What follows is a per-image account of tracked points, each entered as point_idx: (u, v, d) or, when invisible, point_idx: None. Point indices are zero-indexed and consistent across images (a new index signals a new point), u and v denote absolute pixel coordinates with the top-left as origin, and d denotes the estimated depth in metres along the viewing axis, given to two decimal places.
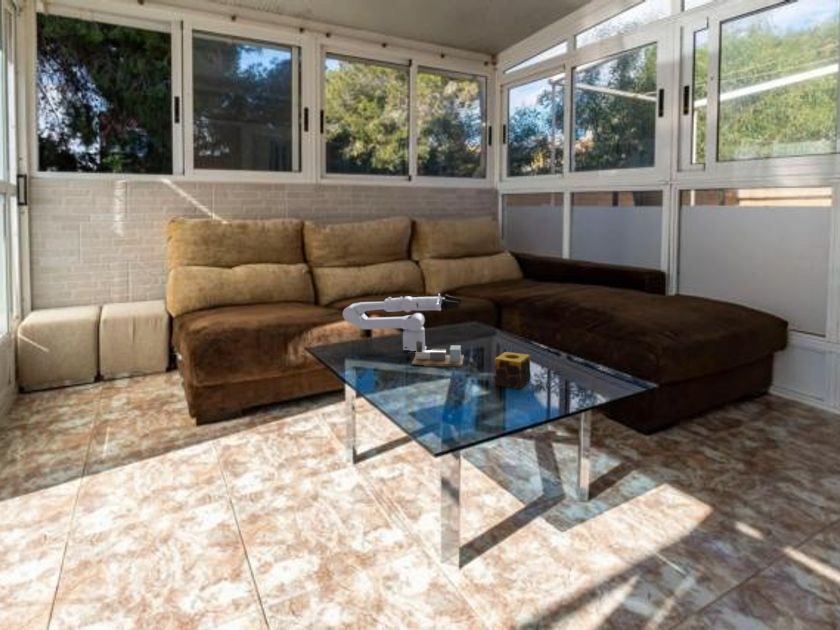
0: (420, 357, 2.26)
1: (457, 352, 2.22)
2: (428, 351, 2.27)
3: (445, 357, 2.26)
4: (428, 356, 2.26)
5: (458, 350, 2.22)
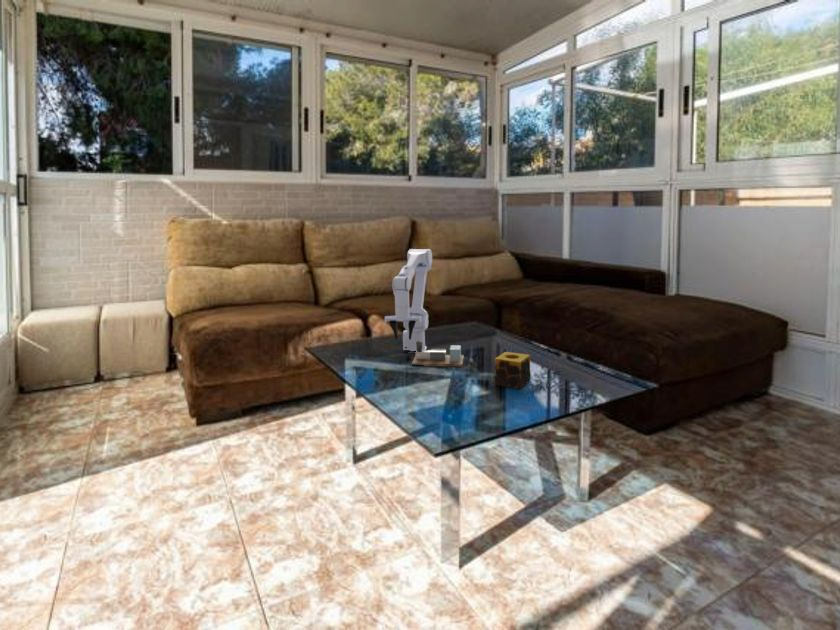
0: (420, 357, 2.26)
1: (457, 352, 2.22)
2: (428, 351, 2.27)
3: (445, 357, 2.26)
4: (428, 356, 2.26)
5: (458, 350, 2.22)
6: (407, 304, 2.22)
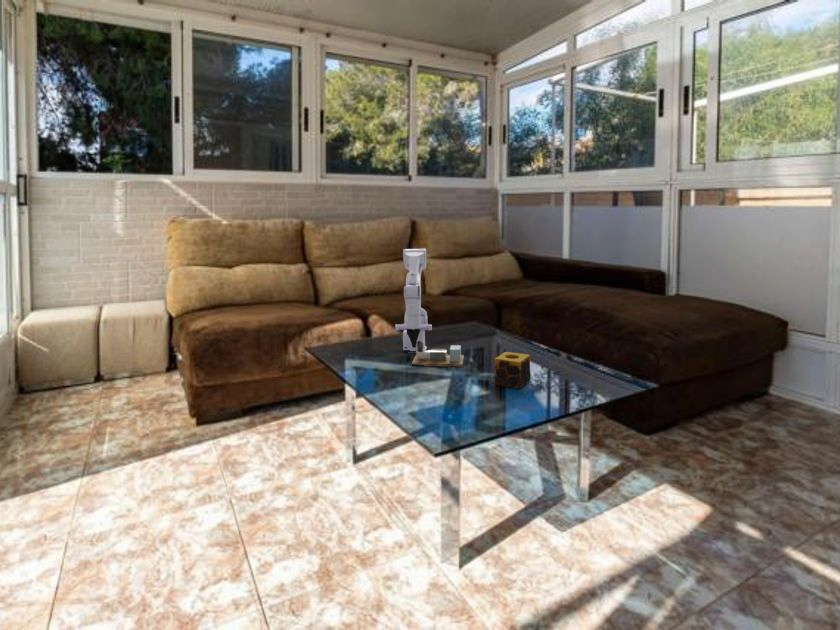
0: (421, 357, 2.26)
1: (457, 352, 2.22)
2: (429, 351, 2.27)
3: (446, 357, 2.26)
4: (429, 356, 2.26)
5: (458, 350, 2.22)
6: (419, 312, 2.23)
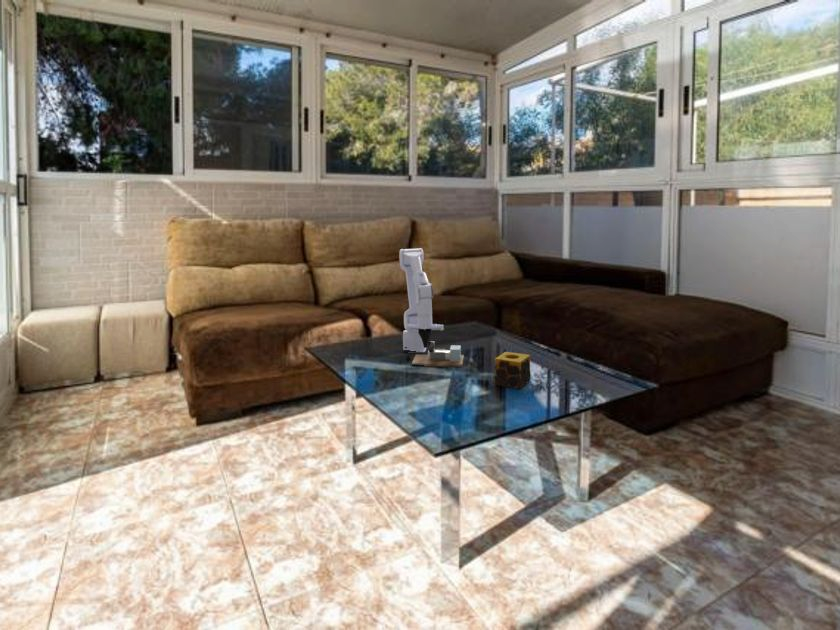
0: None
1: (457, 352, 2.22)
2: (440, 351, 2.26)
3: None
4: None
5: (458, 350, 2.22)
6: (431, 312, 2.23)
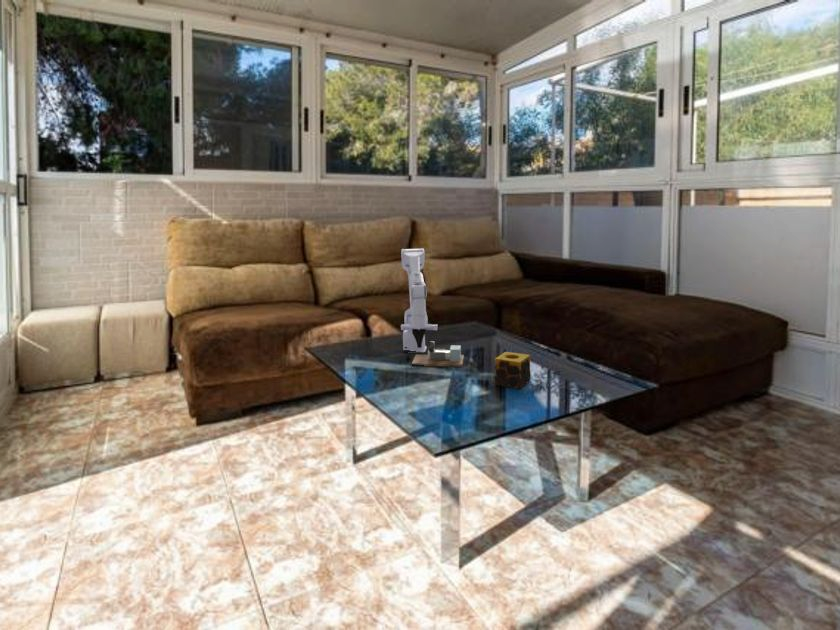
0: None
1: (457, 352, 2.22)
2: (440, 351, 2.26)
3: None
4: None
5: (458, 350, 2.22)
6: (425, 312, 2.23)
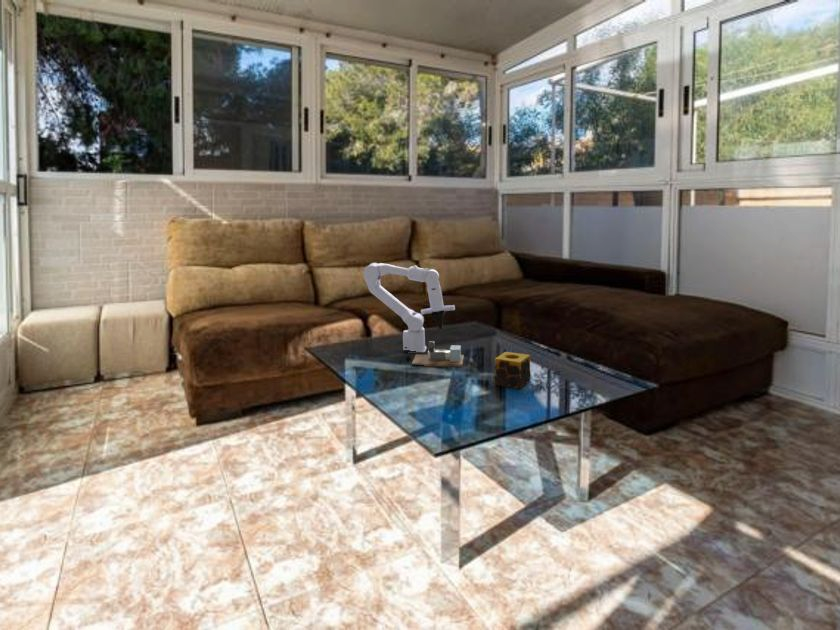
0: None
1: (457, 352, 2.22)
2: (440, 351, 2.26)
3: None
4: None
5: (458, 350, 2.22)
6: None
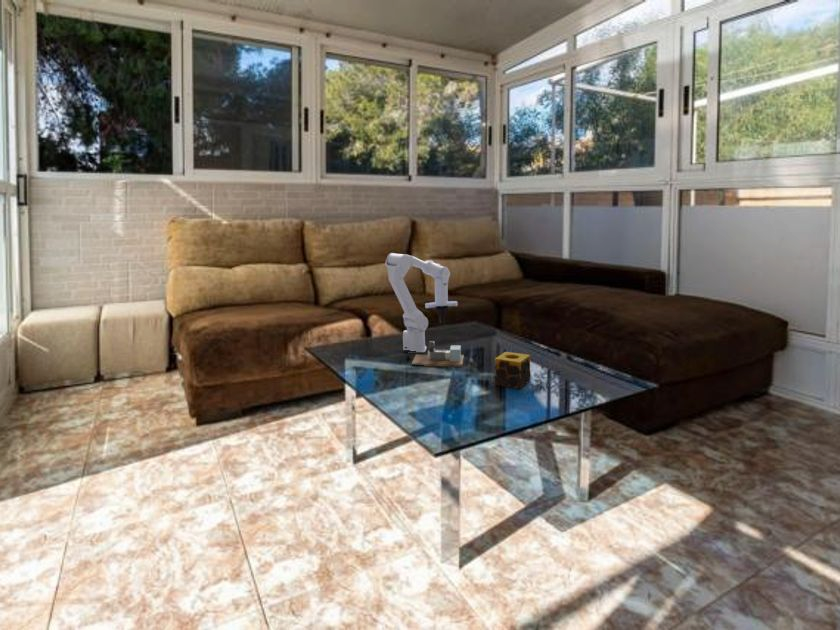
0: None
1: (457, 352, 2.22)
2: (440, 351, 2.26)
3: None
4: None
5: (458, 350, 2.22)
6: None
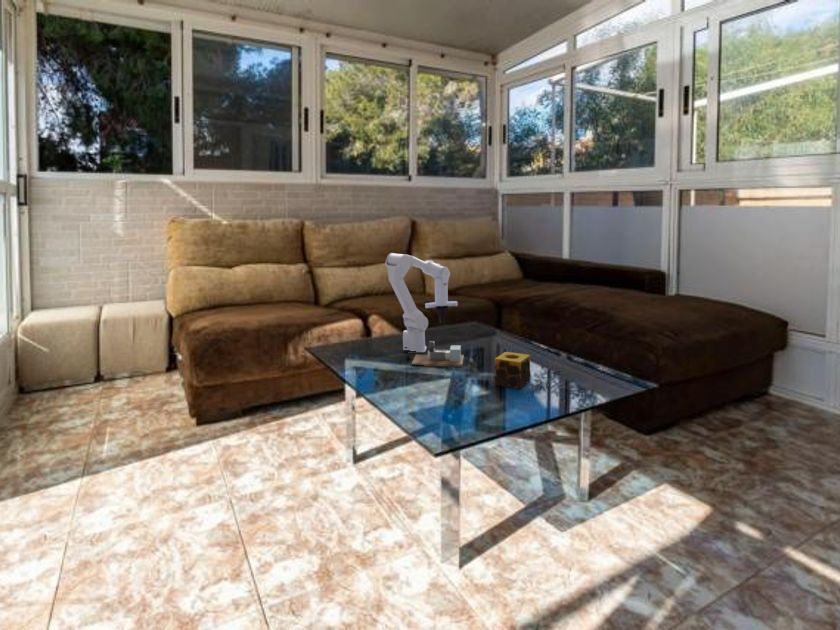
0: None
1: (457, 352, 2.22)
2: (440, 351, 2.26)
3: None
4: None
5: (458, 350, 2.22)
6: None
